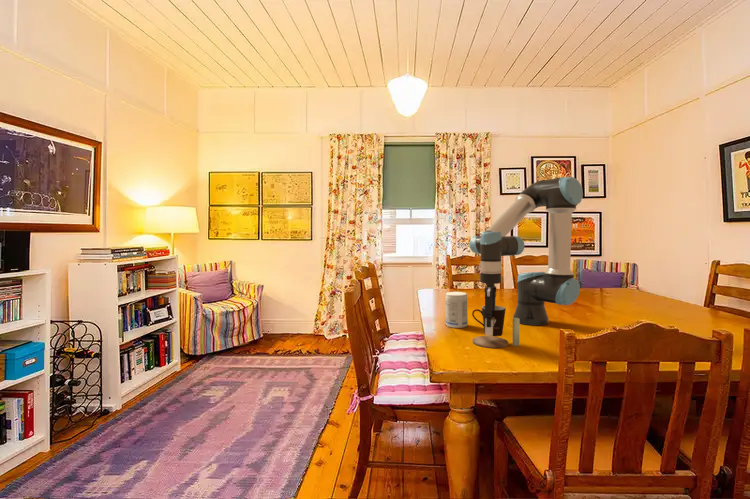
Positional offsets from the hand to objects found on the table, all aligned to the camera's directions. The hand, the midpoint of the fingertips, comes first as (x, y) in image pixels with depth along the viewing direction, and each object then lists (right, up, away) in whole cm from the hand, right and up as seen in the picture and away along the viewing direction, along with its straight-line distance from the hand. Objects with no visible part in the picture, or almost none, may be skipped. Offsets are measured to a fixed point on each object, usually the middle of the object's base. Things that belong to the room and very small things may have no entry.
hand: (490, 332), depth 146 cm
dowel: (+9, -4, -3) cm, 10 cm away
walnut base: (0, -4, 0) cm, 4 cm away
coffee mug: (0, 0, +1) cm, 1 cm away
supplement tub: (-7, -3, +26) cm, 28 cm away
